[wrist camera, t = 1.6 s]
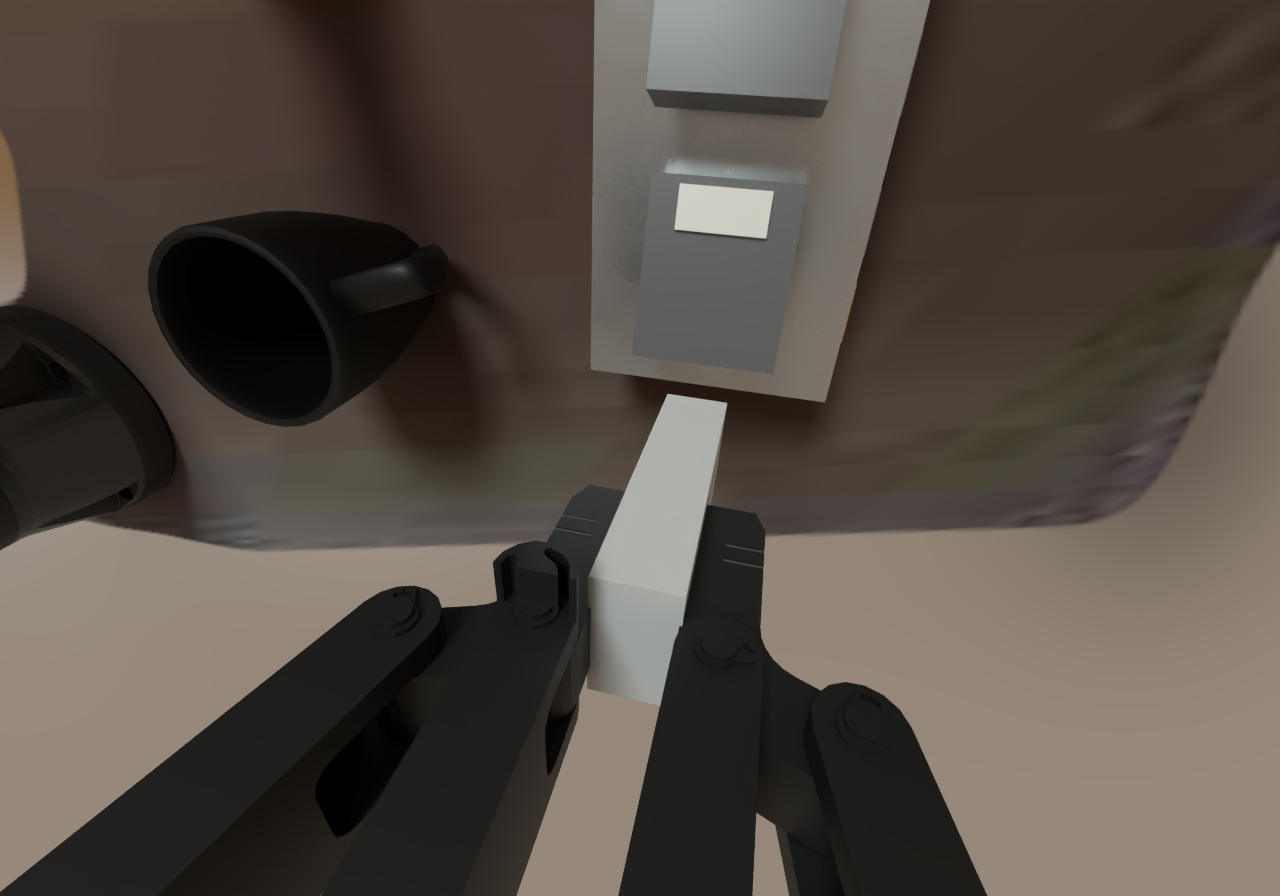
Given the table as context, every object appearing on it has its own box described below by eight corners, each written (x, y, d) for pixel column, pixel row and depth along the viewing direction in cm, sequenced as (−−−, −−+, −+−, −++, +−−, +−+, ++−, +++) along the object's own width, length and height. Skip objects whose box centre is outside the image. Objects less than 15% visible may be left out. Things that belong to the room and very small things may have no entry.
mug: (544, 321, 29) (456, 399, 21) (364, 361, 33) (231, 440, 25) (483, 149, 25) (347, 164, 17) (288, 216, 29) (103, 254, 21)
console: (618, 332, 28) (586, 375, 23) (653, -607, 15) (594, -958, 10) (823, 358, 27) (834, 411, 22) (1077, -663, 13) (1250, -1110, 8)
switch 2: (640, 350, 21) (631, 355, 20) (658, 180, 19) (650, 170, 18) (771, 368, 20) (773, 374, 19) (803, 193, 19) (808, 183, 17)
